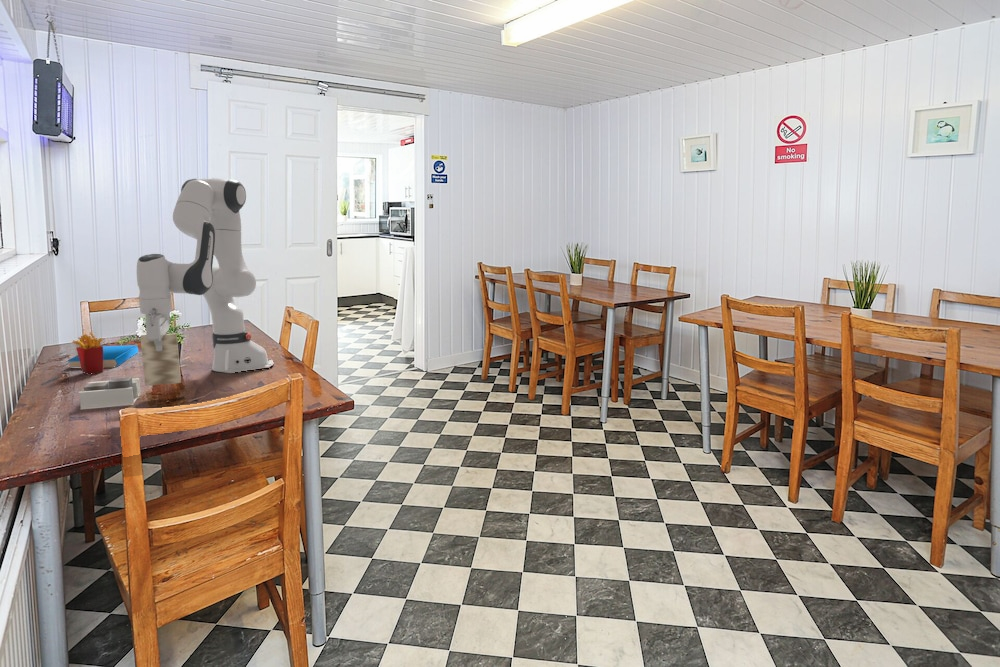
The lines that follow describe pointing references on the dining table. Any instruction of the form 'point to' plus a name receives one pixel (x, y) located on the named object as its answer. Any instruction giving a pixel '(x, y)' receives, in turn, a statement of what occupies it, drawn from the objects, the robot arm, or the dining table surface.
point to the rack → (110, 396)
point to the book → (111, 355)
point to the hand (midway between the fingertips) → (160, 349)
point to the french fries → (90, 354)
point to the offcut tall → (120, 383)
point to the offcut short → (96, 386)
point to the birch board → (161, 361)
